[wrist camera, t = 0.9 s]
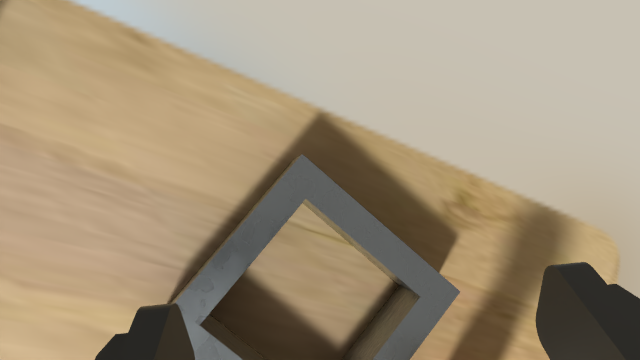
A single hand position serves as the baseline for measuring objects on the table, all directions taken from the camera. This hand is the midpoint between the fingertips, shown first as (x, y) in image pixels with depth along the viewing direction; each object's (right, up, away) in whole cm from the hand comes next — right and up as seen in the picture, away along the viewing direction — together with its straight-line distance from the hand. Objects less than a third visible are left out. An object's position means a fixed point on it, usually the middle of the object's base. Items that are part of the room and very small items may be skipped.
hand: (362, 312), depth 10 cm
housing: (-2, -5, +23) cm, 24 cm away
